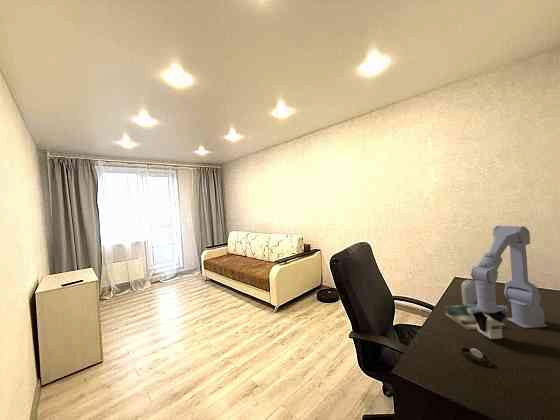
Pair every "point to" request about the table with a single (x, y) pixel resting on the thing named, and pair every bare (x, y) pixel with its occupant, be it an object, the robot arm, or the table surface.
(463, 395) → the table surface
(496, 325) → the beige rectangular block
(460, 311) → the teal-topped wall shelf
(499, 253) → the robot arm
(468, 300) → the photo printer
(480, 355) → the watch
